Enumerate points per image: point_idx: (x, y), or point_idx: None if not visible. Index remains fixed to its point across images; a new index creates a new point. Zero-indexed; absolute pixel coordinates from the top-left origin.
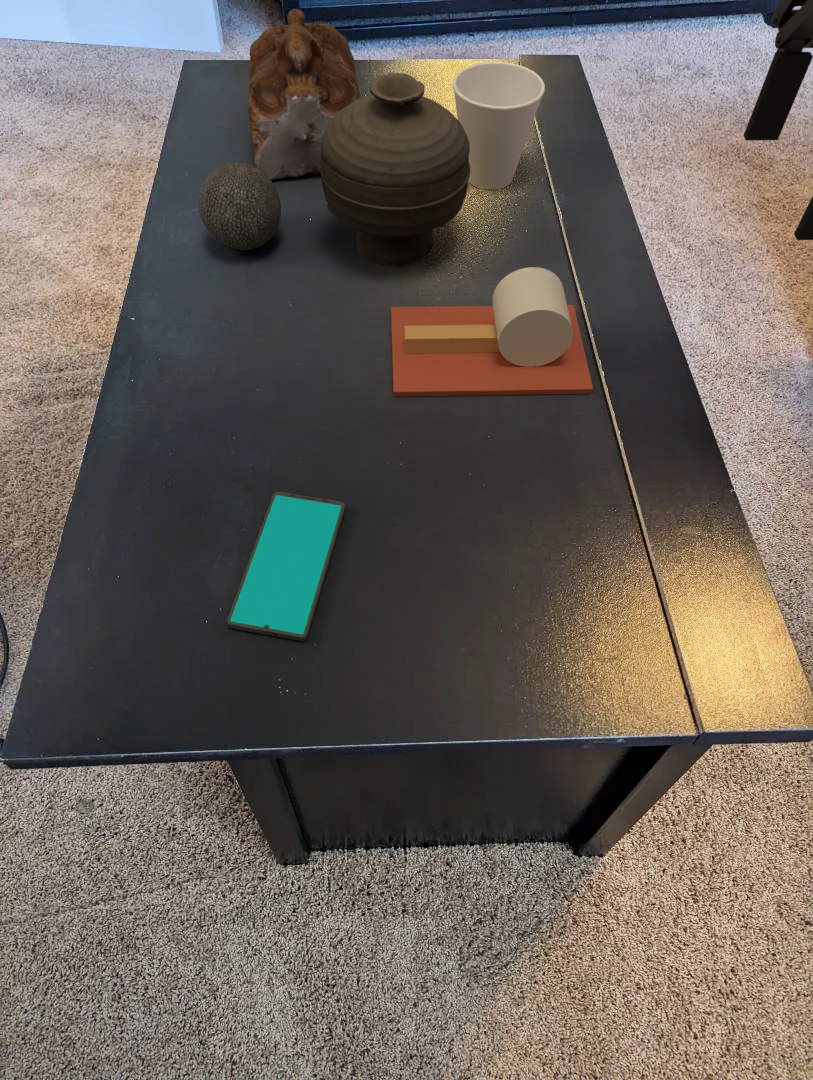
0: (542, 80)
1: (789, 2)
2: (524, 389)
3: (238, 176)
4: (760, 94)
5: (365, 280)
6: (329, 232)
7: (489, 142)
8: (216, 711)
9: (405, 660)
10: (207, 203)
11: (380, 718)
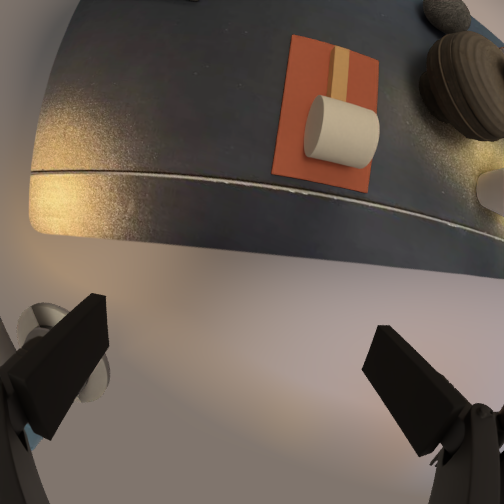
0: None
1: None
2: (280, 119)
3: (456, 2)
4: (422, 361)
5: (406, 61)
6: None
7: (500, 179)
8: None
9: (94, 33)
10: None
11: (74, 27)
